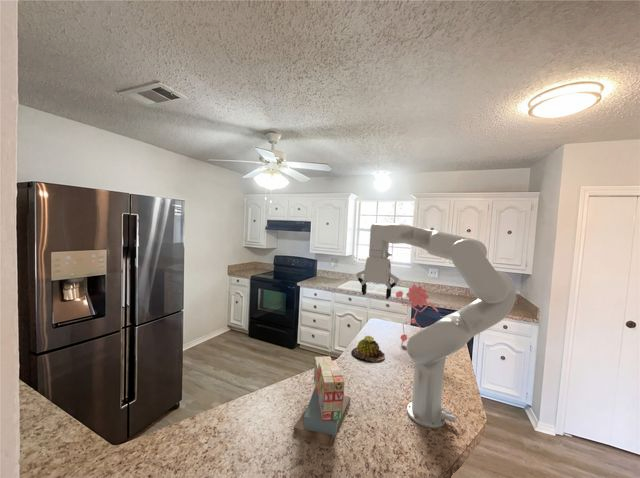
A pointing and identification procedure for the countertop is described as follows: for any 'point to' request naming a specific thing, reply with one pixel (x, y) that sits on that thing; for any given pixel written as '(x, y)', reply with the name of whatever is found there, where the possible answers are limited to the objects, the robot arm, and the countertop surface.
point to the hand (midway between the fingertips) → (375, 296)
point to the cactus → (368, 350)
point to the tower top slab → (318, 418)
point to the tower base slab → (318, 436)
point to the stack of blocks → (329, 388)
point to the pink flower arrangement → (415, 303)
